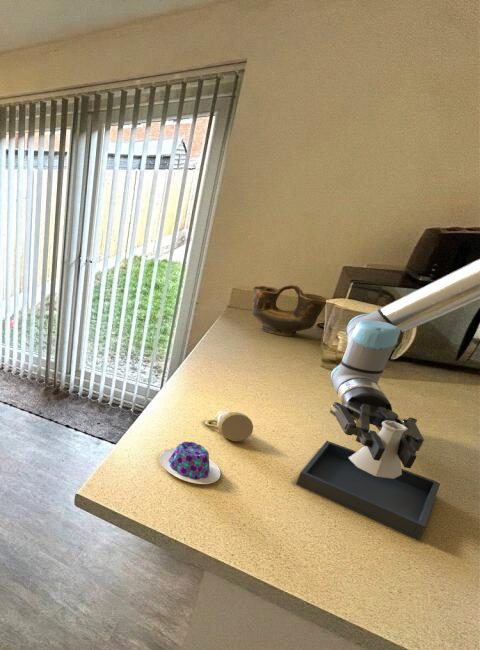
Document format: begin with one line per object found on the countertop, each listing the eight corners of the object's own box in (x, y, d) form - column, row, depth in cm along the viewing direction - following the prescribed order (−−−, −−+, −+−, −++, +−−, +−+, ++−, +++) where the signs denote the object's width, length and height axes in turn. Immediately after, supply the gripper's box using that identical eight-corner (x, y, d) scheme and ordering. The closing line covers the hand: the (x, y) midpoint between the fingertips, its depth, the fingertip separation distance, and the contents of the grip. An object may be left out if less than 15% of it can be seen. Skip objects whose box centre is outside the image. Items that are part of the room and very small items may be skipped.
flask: (339, 456, 81) (358, 415, 77) (372, 454, 81) (392, 413, 77) (375, 481, 74) (397, 437, 70) (410, 478, 75) (434, 435, 71)
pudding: (169, 484, 83) (173, 464, 81) (152, 449, 94) (156, 430, 91) (230, 489, 81) (236, 469, 79) (205, 452, 92) (211, 434, 90)
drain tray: (433, 495, 78) (440, 482, 77) (417, 540, 69) (425, 526, 67) (321, 452, 91) (326, 440, 90) (295, 484, 82) (300, 472, 81)
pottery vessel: (238, 327, 168) (250, 281, 160) (248, 321, 174) (260, 277, 167) (311, 343, 150) (329, 293, 142) (319, 337, 156) (336, 288, 148)
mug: (233, 421, 104) (257, 403, 96) (233, 453, 98) (259, 437, 90) (204, 411, 105) (225, 392, 97) (203, 442, 100) (226, 425, 92)
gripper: (406, 425, 87) (450, 491, 69) (311, 405, 95) (328, 459, 77) (422, 396, 84) (472, 456, 66) (322, 378, 92) (342, 427, 74)
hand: (394, 458), depth 71 cm, fingers closed on flask, 3 cm apart
